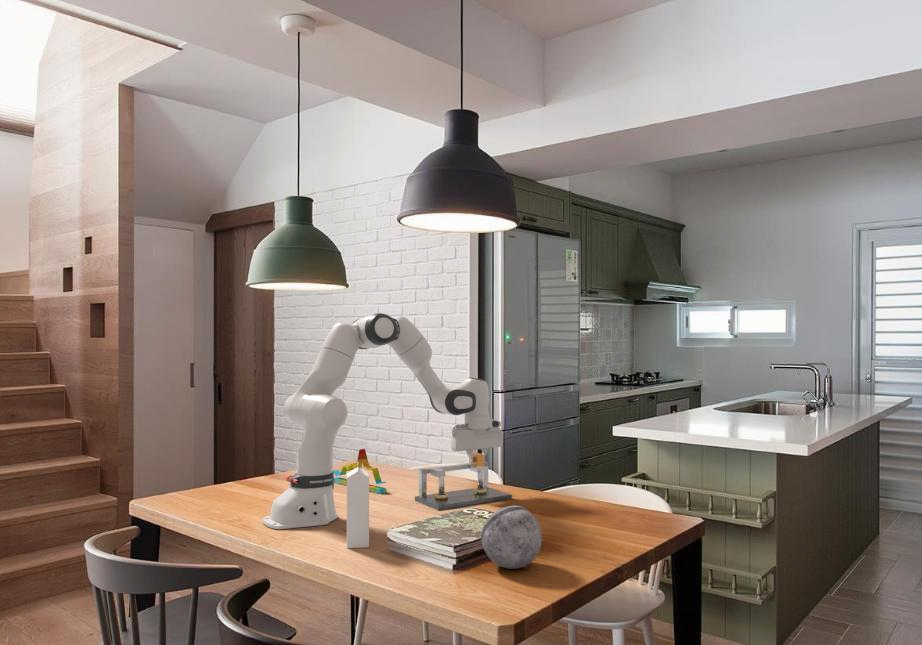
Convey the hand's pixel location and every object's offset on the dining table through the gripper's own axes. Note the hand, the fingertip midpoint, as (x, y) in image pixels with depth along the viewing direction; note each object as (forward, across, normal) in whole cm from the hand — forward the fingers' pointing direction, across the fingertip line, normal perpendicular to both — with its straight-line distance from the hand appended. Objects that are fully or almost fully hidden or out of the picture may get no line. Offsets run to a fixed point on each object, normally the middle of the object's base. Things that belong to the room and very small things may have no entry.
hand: (477, 461), depth 247 cm
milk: (+12, -60, -31) cm, 69 cm away
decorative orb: (+12, -36, -69) cm, 79 cm away
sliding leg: (+9, 0, 0) cm, 9 cm away
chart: (+13, -30, +37) cm, 49 cm away
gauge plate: (+12, -7, -2) cm, 14 cm away
